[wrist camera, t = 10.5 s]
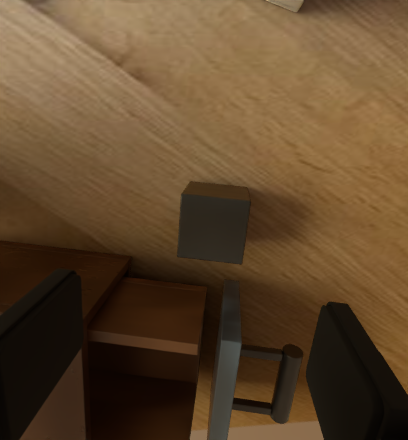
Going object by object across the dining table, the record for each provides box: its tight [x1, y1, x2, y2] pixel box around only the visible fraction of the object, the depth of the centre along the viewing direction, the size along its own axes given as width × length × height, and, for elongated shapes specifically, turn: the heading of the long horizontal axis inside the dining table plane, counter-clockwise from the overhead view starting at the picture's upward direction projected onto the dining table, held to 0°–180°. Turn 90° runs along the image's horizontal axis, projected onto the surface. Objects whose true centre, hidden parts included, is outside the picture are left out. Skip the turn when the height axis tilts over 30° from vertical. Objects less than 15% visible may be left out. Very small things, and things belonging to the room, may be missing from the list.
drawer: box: [87, 277, 303, 440], centre depth 23 cm, size 18×11×7 cm, turn 85°
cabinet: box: [0, 241, 131, 440], centre depth 23 cm, size 15×13×9 cm
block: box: [177, 182, 251, 264], centre depth 22 cm, size 4×4×4 cm
